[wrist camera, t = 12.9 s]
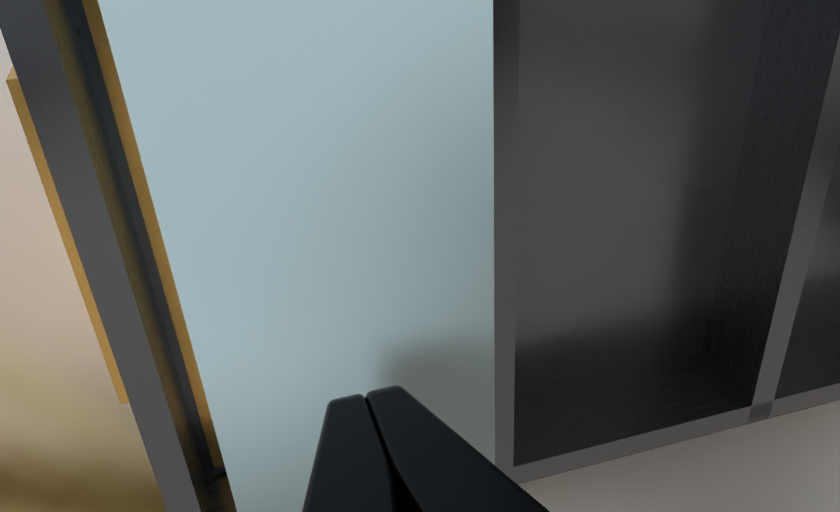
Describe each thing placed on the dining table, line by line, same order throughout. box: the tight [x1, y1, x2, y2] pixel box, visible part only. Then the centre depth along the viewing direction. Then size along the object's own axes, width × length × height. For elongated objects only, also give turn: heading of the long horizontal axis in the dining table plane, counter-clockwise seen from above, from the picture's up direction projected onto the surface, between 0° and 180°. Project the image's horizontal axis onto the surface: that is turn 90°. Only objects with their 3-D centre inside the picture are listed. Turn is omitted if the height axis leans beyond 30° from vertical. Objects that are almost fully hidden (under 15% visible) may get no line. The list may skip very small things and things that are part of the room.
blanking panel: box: [98, 0, 495, 512], centre depth 12 cm, size 12×4×5 cm, turn 3°
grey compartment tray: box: [0, 0, 840, 512], centre depth 15 cm, size 21×15×3 cm
